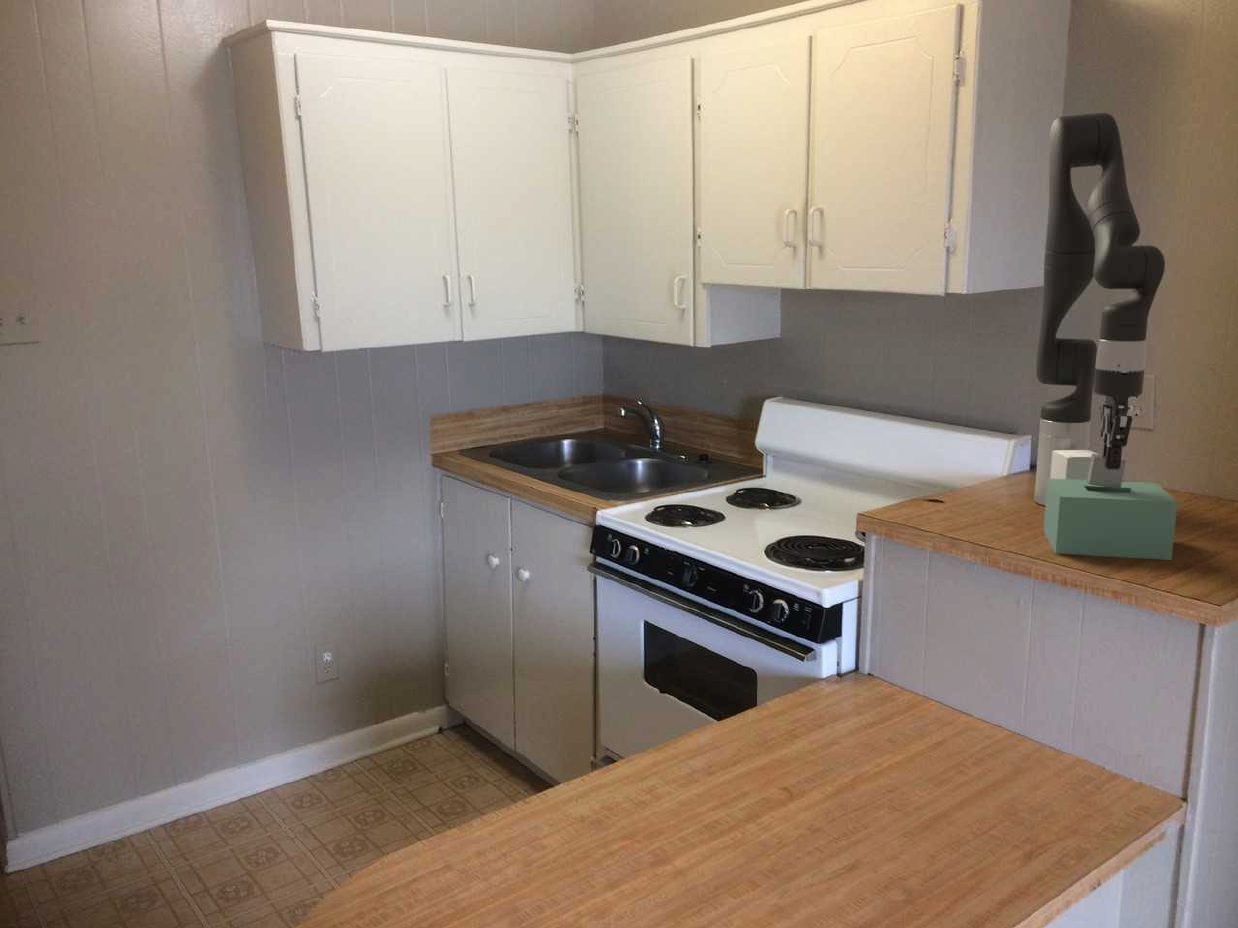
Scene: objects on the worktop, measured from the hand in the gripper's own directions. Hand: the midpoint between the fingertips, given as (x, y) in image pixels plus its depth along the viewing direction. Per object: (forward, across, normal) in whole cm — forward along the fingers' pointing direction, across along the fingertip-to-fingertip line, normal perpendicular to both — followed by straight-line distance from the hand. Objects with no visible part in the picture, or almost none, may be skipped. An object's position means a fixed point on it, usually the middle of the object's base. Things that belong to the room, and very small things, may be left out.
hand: (1110, 466), depth 177 cm
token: (+3, 0, -1) cm, 3 cm away
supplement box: (+14, -19, -2) cm, 24 cm away
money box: (+14, 0, 0) cm, 14 cm away
